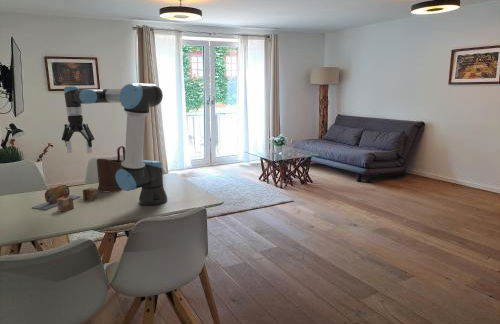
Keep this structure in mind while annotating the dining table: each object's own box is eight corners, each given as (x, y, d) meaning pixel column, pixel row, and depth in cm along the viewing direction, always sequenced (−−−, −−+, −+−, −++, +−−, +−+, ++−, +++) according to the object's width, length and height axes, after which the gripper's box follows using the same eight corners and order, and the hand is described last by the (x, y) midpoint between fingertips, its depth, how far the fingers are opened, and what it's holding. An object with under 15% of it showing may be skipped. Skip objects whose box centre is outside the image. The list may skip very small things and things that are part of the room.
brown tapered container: (90, 190, 225) (86, 151, 220) (115, 181, 248) (111, 145, 243) (115, 192, 220) (112, 152, 215) (138, 183, 242) (135, 146, 237)
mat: (80, 197, 212) (80, 196, 212) (46, 210, 189) (46, 208, 189) (67, 195, 215) (67, 194, 215) (31, 208, 193) (31, 207, 192)
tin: (49, 205, 195) (47, 190, 194) (44, 204, 196) (42, 189, 195) (70, 197, 209) (69, 183, 208) (66, 196, 210) (64, 182, 209)
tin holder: (97, 198, 208) (96, 188, 207) (66, 211, 187) (64, 200, 186) (90, 197, 210) (88, 187, 209) (57, 210, 189) (56, 199, 188)
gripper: (51, 115, 200) (56, 153, 204) (88, 114, 193) (93, 154, 197) (61, 114, 207) (66, 151, 211) (98, 114, 200) (102, 151, 204)
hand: (79, 152), depth 204 cm, fingers open, 13 cm apart
